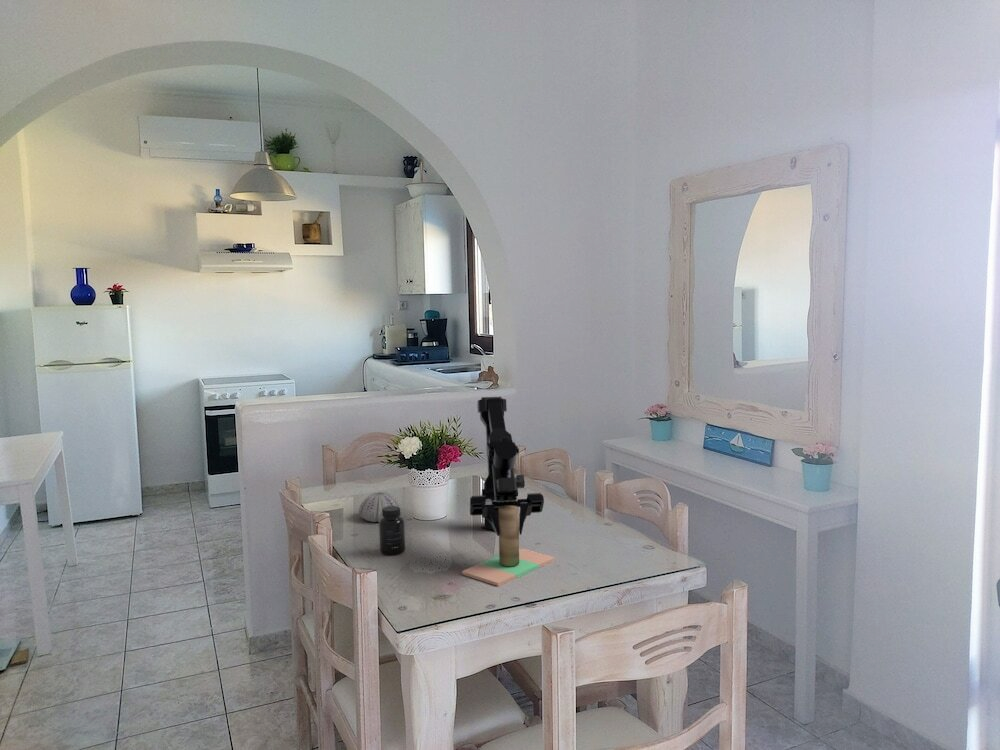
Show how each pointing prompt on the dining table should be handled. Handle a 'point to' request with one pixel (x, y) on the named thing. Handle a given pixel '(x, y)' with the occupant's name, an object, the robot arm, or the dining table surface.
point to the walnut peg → (508, 535)
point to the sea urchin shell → (376, 506)
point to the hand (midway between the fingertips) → (509, 534)
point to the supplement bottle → (391, 531)
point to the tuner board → (507, 568)
